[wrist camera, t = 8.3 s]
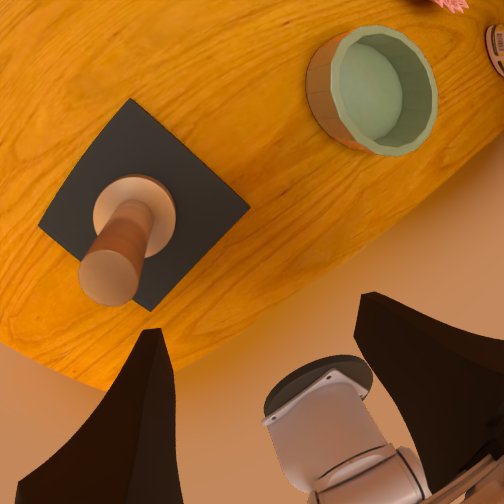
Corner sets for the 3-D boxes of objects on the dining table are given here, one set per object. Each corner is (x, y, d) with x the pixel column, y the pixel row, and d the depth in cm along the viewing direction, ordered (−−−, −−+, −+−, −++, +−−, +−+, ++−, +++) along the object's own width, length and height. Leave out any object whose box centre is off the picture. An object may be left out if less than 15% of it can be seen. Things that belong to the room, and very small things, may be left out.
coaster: (151, 309, 21) (150, 312, 20) (39, 223, 16) (37, 225, 16) (249, 206, 19) (251, 207, 19) (131, 98, 15) (129, 97, 14)
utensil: (142, 267, 19) (126, 351, 12) (82, 219, 17) (29, 284, 9) (192, 210, 18) (201, 273, 11) (130, 156, 16) (91, 184, 9)
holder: (356, 172, 20) (385, 183, 17) (279, 80, 16) (300, 72, 13) (421, 105, 18) (453, 108, 15) (360, 17, 15) (389, 5, 12)
